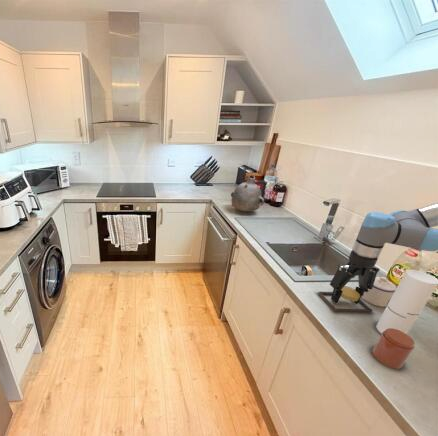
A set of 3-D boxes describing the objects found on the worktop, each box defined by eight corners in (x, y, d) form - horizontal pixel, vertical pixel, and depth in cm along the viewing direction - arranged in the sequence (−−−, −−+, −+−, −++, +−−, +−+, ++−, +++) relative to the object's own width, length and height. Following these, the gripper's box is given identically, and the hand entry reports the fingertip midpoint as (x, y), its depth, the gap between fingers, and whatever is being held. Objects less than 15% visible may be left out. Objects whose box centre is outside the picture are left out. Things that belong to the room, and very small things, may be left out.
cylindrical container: (407, 345, 79) (445, 286, 69) (381, 338, 81) (414, 280, 71) (395, 328, 85) (429, 272, 75) (371, 323, 88) (400, 267, 78)
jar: (386, 350, 77) (400, 327, 73) (407, 370, 71) (423, 347, 67) (365, 349, 78) (378, 326, 73) (384, 370, 71) (399, 346, 67)
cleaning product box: (258, 201, 213) (262, 179, 205) (262, 204, 204) (266, 182, 196) (239, 201, 213) (243, 179, 205) (242, 204, 205) (246, 182, 197)
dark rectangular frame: (350, 296, 101) (352, 292, 100) (370, 314, 91) (372, 310, 91) (317, 295, 101) (318, 291, 100) (333, 313, 92) (335, 309, 91)
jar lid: (341, 299, 92) (342, 296, 91) (331, 287, 98) (333, 283, 98) (362, 302, 90) (364, 299, 90) (351, 290, 97) (353, 287, 96)
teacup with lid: (392, 311, 93) (405, 287, 88) (363, 304, 96) (374, 281, 91) (378, 292, 103) (389, 270, 99) (353, 286, 106) (362, 265, 102)
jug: (227, 214, 185) (232, 176, 173) (229, 205, 203) (234, 170, 191) (261, 219, 177) (269, 179, 164) (260, 209, 195) (267, 173, 183)
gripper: (383, 248, 90) (361, 295, 99) (329, 247, 90) (313, 294, 99) (402, 259, 83) (377, 308, 92) (344, 258, 83) (325, 308, 92)
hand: (344, 301), depth 96 cm, fingers closed on jar lid, 7 cm apart
